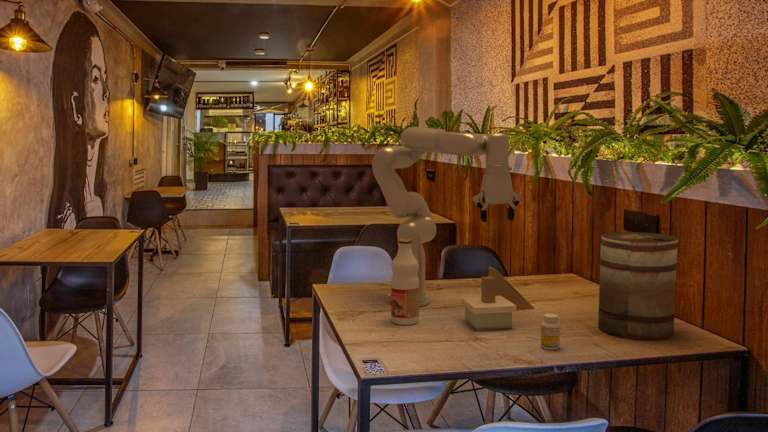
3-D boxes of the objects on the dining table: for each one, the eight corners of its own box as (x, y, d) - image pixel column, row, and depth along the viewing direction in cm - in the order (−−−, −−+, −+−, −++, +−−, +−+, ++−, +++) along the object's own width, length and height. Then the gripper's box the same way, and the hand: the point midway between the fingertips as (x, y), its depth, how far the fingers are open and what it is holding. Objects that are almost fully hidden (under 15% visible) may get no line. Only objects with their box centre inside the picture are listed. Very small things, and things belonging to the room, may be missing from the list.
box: (476, 330, 204) (476, 309, 204) (464, 320, 216) (465, 300, 215) (511, 328, 207) (512, 307, 206) (498, 318, 218) (499, 298, 217)
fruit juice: (419, 325, 211) (419, 241, 208) (391, 325, 211) (390, 241, 208) (418, 317, 220) (418, 237, 217) (391, 318, 220) (390, 237, 217)
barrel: (679, 326, 208) (683, 235, 204) (667, 345, 189) (671, 244, 186) (607, 316, 220) (610, 230, 217) (589, 333, 201) (592, 238, 198)
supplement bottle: (554, 351, 184) (555, 318, 183) (537, 347, 187) (538, 315, 186) (562, 346, 188) (563, 315, 187) (546, 343, 191) (546, 311, 190)
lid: (474, 314, 203) (474, 283, 201) (461, 303, 216) (461, 274, 215) (516, 311, 205) (516, 281, 204) (500, 301, 219) (501, 272, 218)
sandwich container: (536, 309, 231) (537, 268, 229) (495, 311, 228) (496, 270, 227) (527, 303, 239) (528, 264, 237) (487, 305, 237) (488, 265, 235)
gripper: (515, 169, 221) (515, 218, 223) (468, 170, 217) (469, 221, 219) (525, 169, 214) (525, 220, 216) (477, 171, 210) (477, 223, 212)
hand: (497, 220), depth 217 cm, fingers open, 9 cm apart
